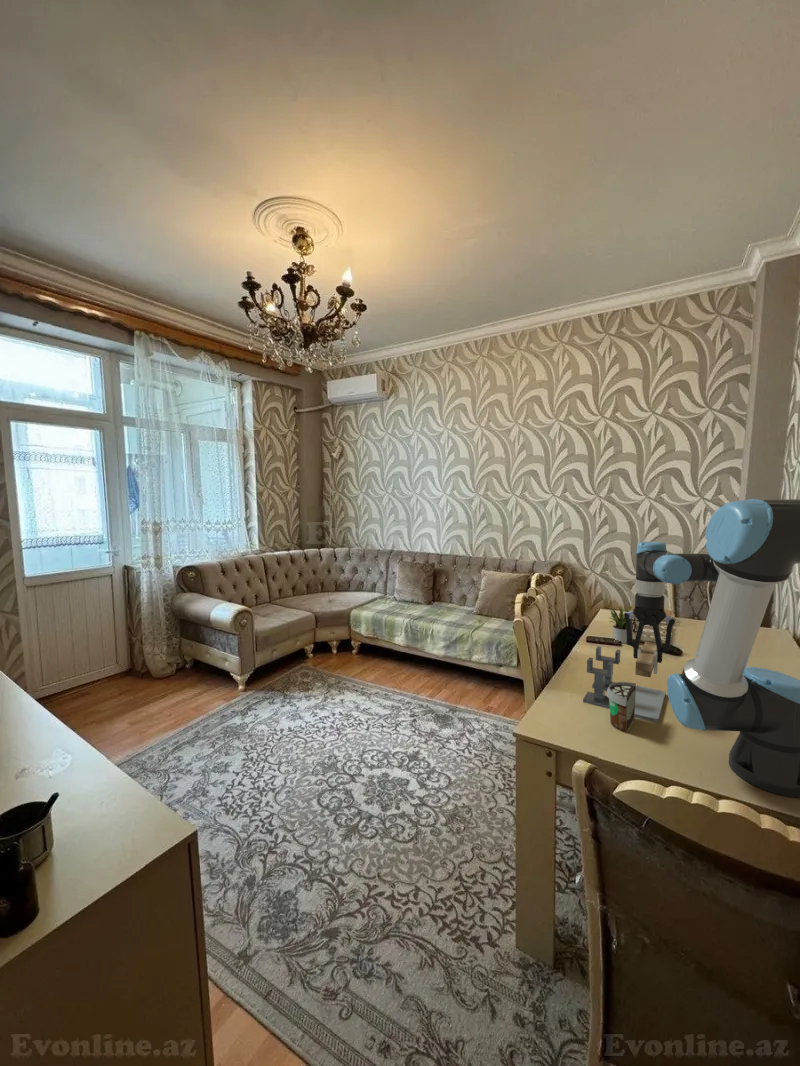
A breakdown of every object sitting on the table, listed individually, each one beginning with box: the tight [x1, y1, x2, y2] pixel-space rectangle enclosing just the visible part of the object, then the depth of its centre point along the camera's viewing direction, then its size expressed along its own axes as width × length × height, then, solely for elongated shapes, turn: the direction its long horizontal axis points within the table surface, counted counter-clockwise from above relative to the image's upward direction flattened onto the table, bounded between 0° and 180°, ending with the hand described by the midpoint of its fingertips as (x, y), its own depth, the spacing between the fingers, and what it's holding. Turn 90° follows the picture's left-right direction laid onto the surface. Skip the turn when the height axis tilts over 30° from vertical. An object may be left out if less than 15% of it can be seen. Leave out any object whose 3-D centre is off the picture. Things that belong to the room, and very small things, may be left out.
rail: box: [634, 641, 657, 678], centre depth 130 cm, size 4×20×4 cm, turn 144°
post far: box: [591, 645, 621, 692], centre depth 142 cm, size 8×6×13 cm
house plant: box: [607, 604, 637, 644], centre depth 186 cm, size 14×14×16 cm
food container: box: [605, 681, 637, 734], centre depth 121 cm, size 12×6×10 cm, turn 141°
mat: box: [634, 684, 667, 724], centre depth 131 cm, size 21×8×1 cm, turn 144°
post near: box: [582, 656, 614, 710], centre depth 133 cm, size 8×6×13 cm
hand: (647, 670), depth 130 cm, fingers closed on rail, 4 cm apart
